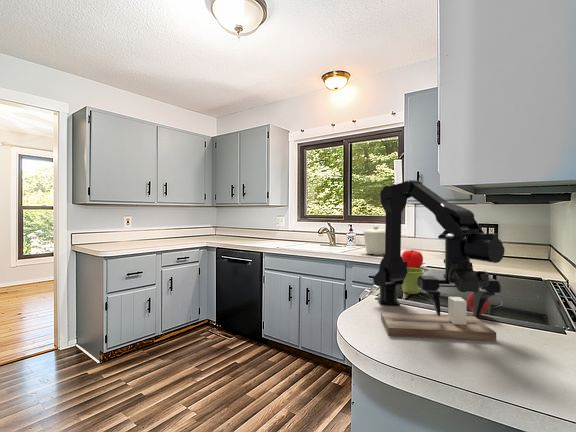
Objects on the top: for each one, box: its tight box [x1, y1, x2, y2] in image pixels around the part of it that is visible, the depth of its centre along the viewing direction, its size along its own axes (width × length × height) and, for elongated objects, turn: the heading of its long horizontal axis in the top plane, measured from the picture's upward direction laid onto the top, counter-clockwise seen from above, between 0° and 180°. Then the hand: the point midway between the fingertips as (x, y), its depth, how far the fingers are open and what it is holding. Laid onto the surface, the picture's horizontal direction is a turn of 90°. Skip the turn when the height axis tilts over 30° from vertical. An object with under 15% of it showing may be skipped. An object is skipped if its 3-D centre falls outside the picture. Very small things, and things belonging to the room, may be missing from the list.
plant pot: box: [401, 268, 425, 295], centre depth 119 cm, size 9×9×9 cm
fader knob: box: [447, 296, 468, 325], centre depth 81 cm, size 4×3×6 cm
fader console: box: [380, 311, 497, 342], centre depth 82 cm, size 12×25×2 cm, turn 82°
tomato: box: [401, 249, 424, 269], centre depth 168 cm, size 11×13×10 cm
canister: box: [362, 224, 385, 256], centre depth 222 cm, size 18×18×21 cm
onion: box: [465, 292, 490, 316], centre depth 92 cm, size 6×6×8 cm
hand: (457, 316), depth 81 cm, fingers open, 9 cm apart
